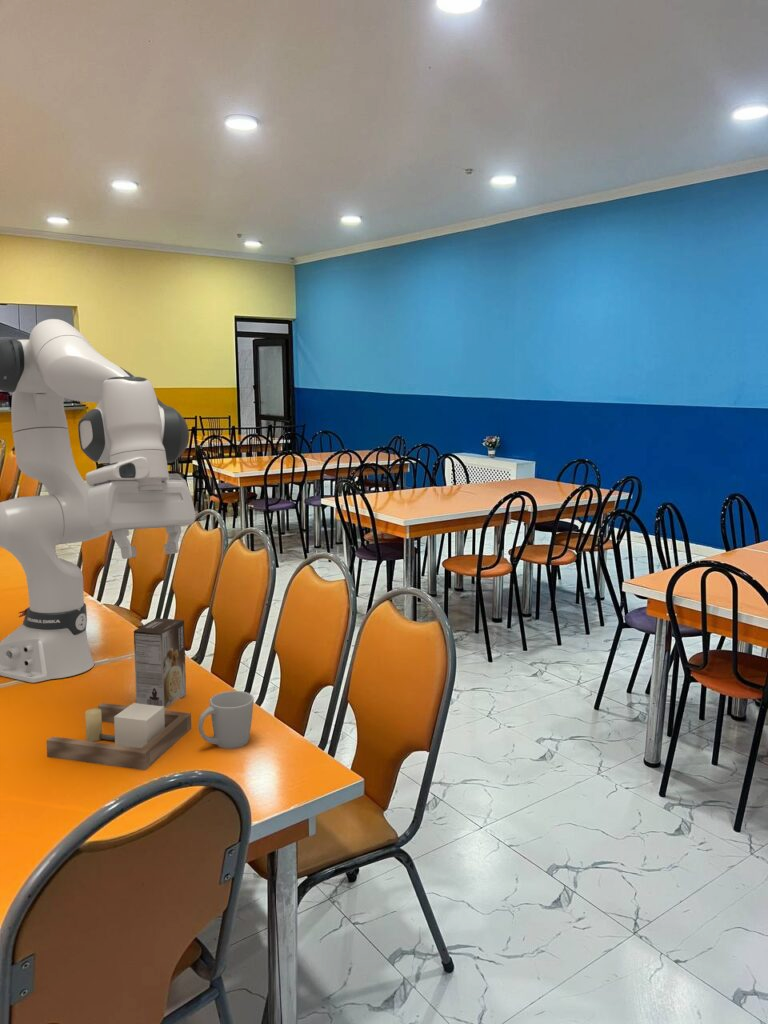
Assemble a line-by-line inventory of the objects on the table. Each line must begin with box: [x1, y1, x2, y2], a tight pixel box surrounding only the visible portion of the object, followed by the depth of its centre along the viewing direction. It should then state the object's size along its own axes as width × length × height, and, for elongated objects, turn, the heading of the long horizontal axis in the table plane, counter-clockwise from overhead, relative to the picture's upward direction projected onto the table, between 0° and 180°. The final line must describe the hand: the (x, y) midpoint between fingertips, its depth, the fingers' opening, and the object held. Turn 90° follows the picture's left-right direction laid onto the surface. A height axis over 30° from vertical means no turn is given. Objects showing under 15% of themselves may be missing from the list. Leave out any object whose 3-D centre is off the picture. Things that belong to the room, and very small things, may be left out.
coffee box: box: [133, 617, 187, 710], centre depth 147 cm, size 9×6×16 cm
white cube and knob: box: [84, 702, 165, 748], centre depth 129 cm, size 13×6×6 cm, turn 78°
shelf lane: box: [45, 702, 192, 771], centre depth 129 cm, size 18×16×4 cm
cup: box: [198, 690, 255, 750], centre depth 129 cm, size 8×10×8 cm
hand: (151, 555), depth 121 cm, fingers open, 8 cm apart
